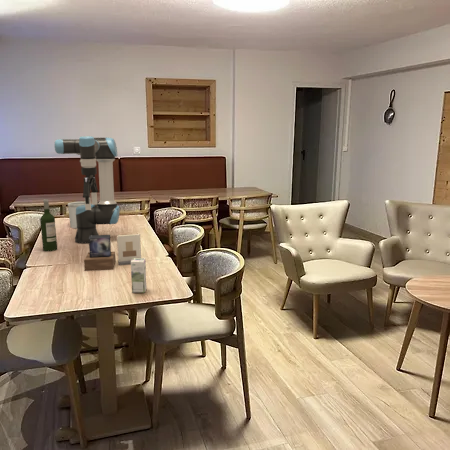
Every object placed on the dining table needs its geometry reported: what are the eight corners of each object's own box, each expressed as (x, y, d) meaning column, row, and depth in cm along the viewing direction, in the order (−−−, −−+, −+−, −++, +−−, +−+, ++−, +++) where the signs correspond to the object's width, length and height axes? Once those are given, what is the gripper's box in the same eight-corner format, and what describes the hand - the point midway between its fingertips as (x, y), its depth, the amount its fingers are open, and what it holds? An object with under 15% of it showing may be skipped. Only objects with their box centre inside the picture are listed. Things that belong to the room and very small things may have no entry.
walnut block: (89, 263, 236) (88, 252, 234) (115, 262, 238) (115, 251, 236) (84, 271, 222) (83, 260, 221) (113, 270, 224) (112, 259, 223)
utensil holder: (68, 225, 325) (66, 202, 321) (89, 223, 331) (87, 200, 328) (70, 229, 312) (68, 205, 308) (92, 227, 318) (90, 203, 314)
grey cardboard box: (118, 262, 236) (116, 234, 233) (140, 260, 240) (139, 233, 236) (118, 265, 231) (117, 237, 227) (141, 263, 234) (140, 235, 231)
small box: (89, 258, 224) (88, 238, 222) (90, 254, 230) (89, 235, 228) (110, 257, 226) (109, 237, 224) (111, 253, 232) (110, 234, 230)
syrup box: (146, 288, 197) (145, 257, 194) (144, 293, 192) (143, 261, 189) (134, 288, 197) (132, 257, 194) (131, 293, 191) (130, 261, 188)
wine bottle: (52, 251, 256) (48, 201, 249) (40, 251, 257) (35, 200, 251) (60, 248, 263) (55, 198, 257) (48, 247, 265) (43, 198, 258)
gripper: (87, 164, 239) (90, 202, 244) (74, 169, 215) (77, 212, 220) (101, 164, 239) (104, 202, 244) (89, 169, 215) (93, 212, 220)
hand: (91, 207), depth 232 cm, fingers open, 13 cm apart
